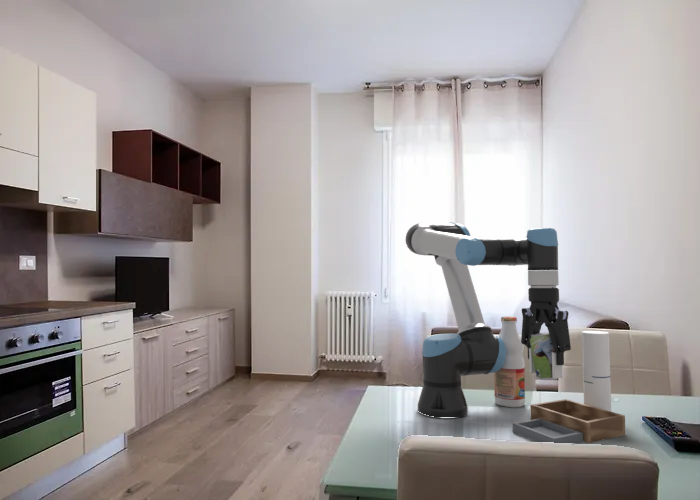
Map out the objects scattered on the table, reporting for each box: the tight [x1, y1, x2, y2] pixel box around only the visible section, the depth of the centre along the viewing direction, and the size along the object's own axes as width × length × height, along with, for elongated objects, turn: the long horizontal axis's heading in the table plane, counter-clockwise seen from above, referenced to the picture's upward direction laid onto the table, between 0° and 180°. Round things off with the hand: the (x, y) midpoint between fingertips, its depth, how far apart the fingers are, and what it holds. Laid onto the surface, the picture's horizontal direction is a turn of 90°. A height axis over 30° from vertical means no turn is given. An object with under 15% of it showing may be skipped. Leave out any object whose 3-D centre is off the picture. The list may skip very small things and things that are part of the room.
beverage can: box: [530, 332, 555, 381], centre depth 131 cm, size 6×7×12 cm
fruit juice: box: [493, 316, 526, 408], centre depth 163 cm, size 9×9×28 cm
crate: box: [530, 398, 626, 444], centre depth 137 cm, size 19×14×5 cm
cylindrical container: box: [581, 330, 612, 412], centre depth 146 cm, size 7×7×25 cm
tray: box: [512, 418, 584, 444], centre depth 130 cm, size 14×10×2 cm
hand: (545, 375), depth 131 cm, fingers closed on beverage can, 7 cm apart
